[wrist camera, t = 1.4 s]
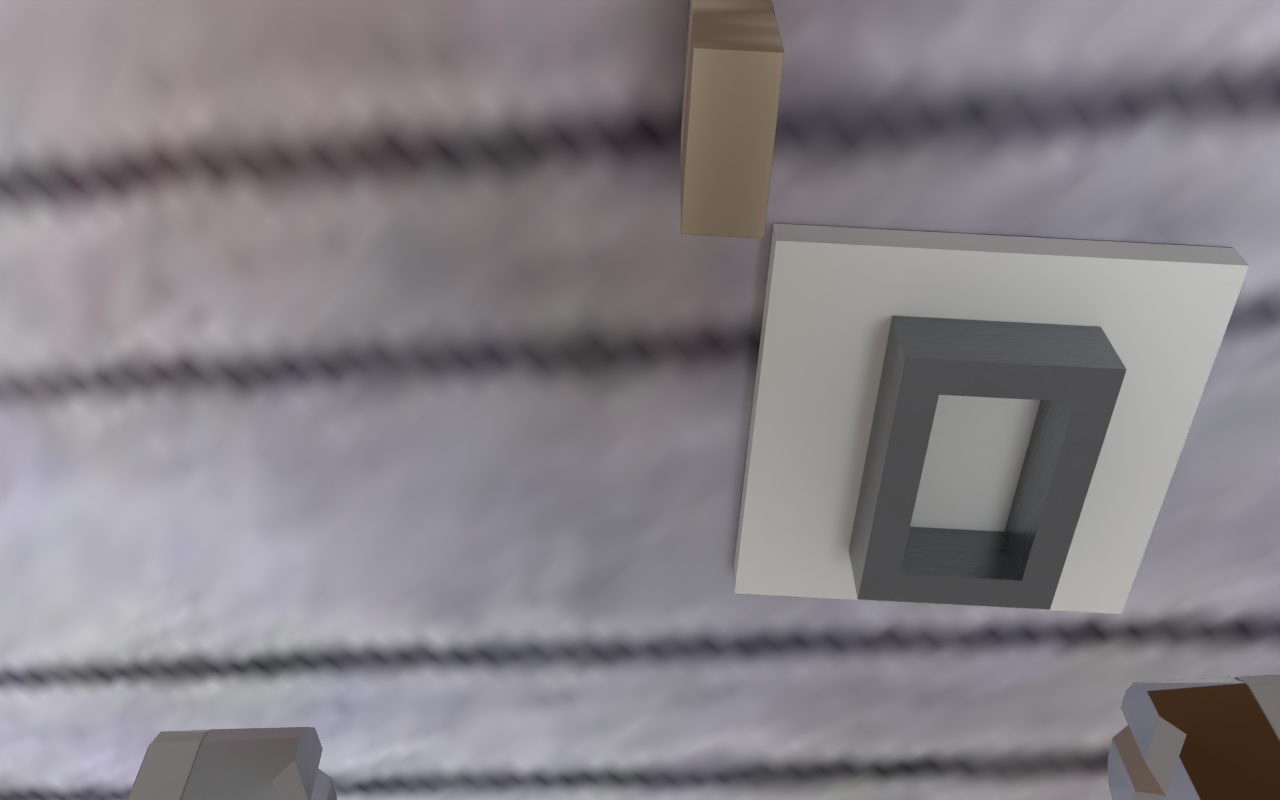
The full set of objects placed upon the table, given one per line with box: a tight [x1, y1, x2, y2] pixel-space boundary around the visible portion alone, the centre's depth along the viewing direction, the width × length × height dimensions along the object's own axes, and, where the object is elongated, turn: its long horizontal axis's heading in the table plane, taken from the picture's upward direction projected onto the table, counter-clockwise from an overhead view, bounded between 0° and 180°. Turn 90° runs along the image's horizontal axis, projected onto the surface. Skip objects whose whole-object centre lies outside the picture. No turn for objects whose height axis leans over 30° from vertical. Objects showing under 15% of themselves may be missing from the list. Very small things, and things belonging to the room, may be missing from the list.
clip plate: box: [733, 224, 1249, 614], centre depth 39 cm, size 14×14×1 cm
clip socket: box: [849, 316, 1127, 610], centre depth 38 cm, size 6×9×2 cm
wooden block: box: [681, 0, 784, 238], centre depth 30 cm, size 2×4×7 cm, turn 177°
